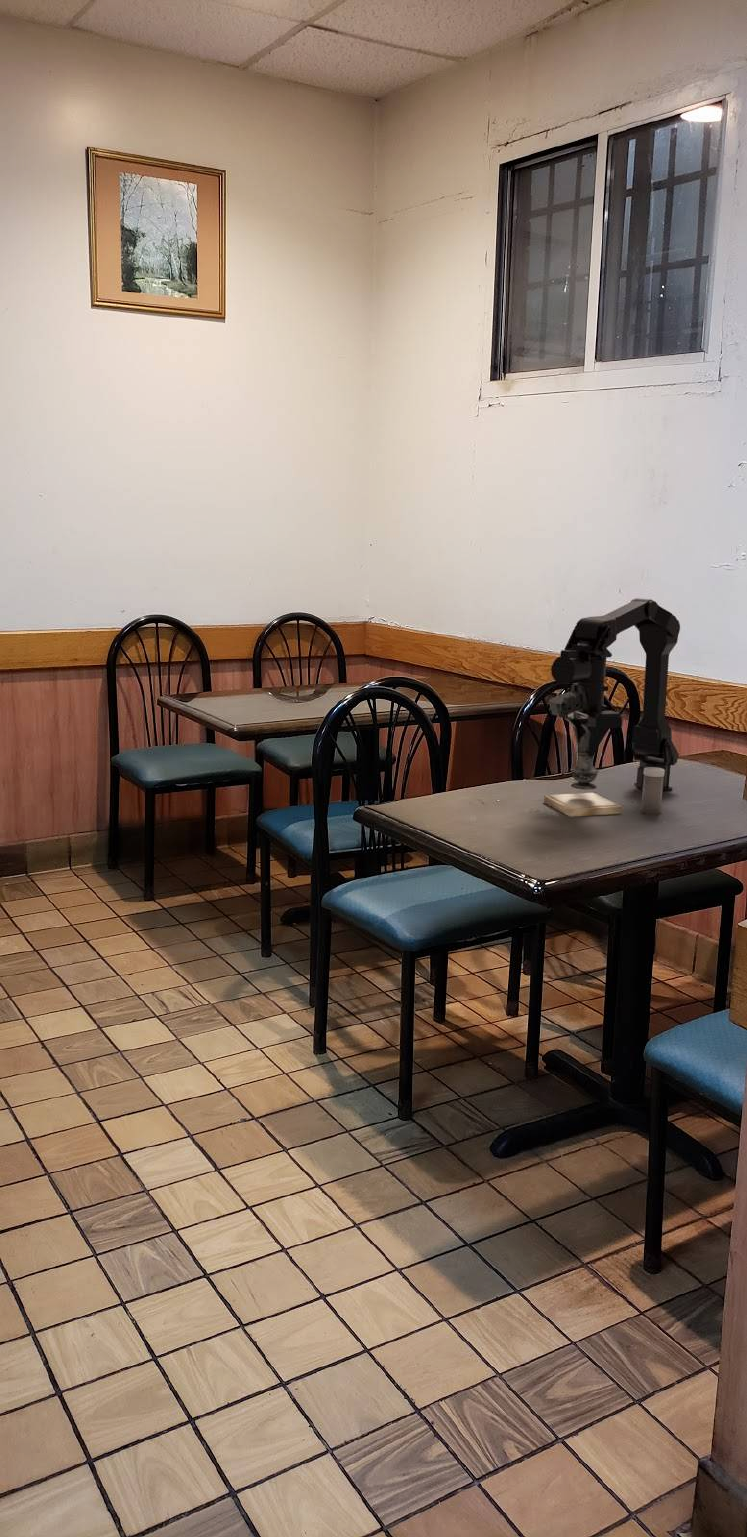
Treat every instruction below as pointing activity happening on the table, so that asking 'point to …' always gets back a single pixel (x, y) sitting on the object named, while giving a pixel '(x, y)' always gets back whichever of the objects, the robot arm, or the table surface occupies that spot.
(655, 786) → the pepper shaker
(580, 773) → the salt shaker
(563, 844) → the table surface
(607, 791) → the table surface
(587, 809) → the maple picture frame
